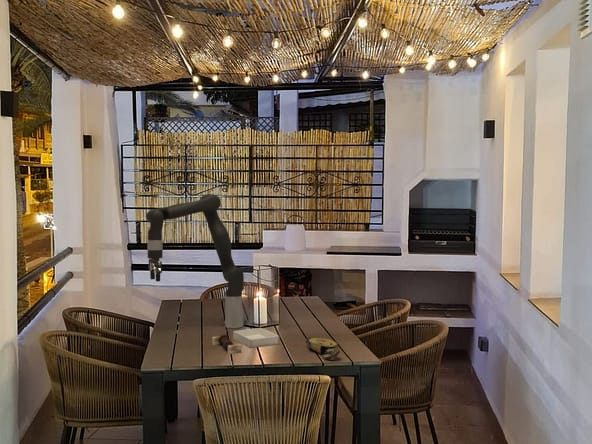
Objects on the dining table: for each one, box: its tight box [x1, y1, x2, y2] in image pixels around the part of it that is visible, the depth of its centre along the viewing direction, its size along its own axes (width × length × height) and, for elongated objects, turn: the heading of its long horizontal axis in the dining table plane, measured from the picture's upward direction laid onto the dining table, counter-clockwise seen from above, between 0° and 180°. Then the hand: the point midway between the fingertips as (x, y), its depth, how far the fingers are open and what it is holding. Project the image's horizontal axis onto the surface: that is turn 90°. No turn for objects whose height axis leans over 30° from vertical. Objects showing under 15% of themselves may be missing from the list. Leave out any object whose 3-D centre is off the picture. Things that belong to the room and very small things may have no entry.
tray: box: [232, 327, 280, 349], centre depth 302 cm, size 16×21×4 cm
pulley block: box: [305, 336, 341, 361], centre depth 282 cm, size 14×6×30 cm
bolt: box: [218, 334, 234, 351], centre depth 289 cm, size 6×5×15 cm
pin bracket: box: [211, 335, 242, 355], centre depth 288 cm, size 6×21×4 cm, turn 30°
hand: (155, 280), depth 311 cm, fingers open, 8 cm apart
